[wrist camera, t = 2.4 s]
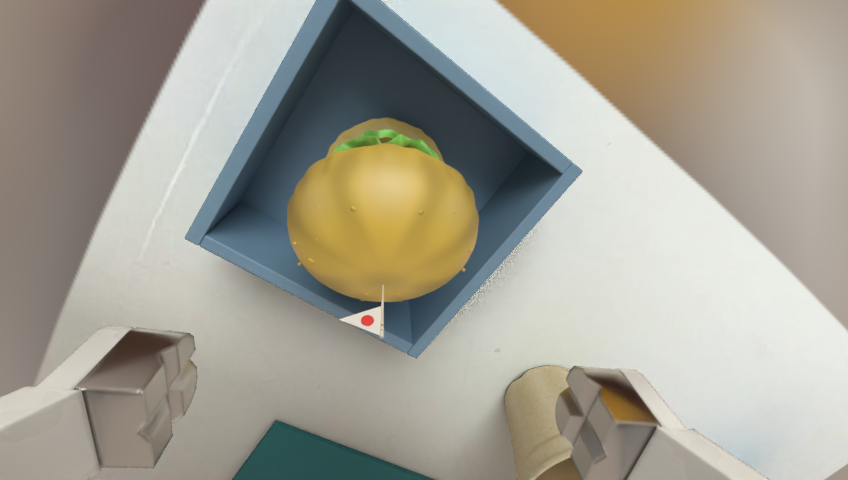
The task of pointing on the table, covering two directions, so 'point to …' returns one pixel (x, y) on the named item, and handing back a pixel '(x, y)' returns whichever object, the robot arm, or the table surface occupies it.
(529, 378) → the flower pot
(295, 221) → the hamburger
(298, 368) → the table surface
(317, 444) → the felt mat
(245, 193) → the toy box
